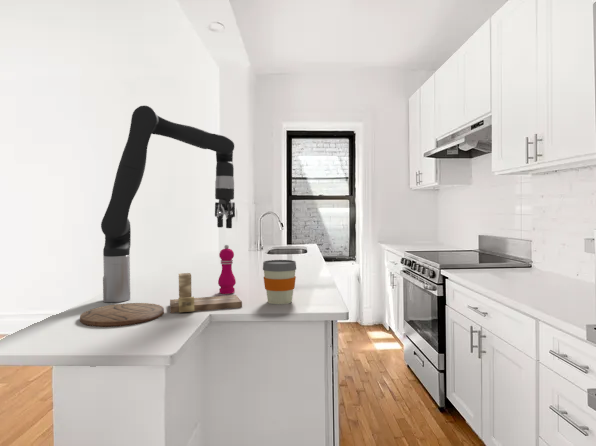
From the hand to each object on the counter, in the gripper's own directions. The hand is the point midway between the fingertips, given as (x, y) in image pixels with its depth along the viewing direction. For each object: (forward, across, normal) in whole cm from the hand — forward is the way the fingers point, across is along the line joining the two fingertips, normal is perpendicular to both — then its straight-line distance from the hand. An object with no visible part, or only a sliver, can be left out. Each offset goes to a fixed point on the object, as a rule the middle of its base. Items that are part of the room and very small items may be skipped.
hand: (224, 227), depth 167 cm
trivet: (+28, +13, -41) cm, 52 cm away
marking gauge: (+27, +15, -21) cm, 37 cm away
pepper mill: (+27, -3, +3) cm, 28 cm away
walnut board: (+27, +15, -14) cm, 34 cm away
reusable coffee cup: (+27, +25, +11) cm, 38 cm away
